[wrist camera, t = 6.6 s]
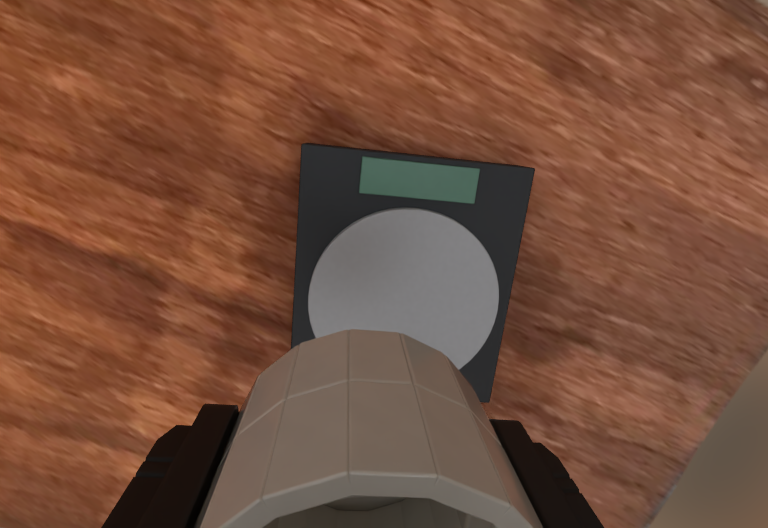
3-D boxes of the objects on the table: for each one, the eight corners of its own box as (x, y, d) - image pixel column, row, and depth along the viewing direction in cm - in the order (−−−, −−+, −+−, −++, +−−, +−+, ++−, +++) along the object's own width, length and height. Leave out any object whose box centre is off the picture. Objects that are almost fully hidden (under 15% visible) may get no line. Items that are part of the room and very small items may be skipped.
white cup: (245, 310, 10) (153, 464, 5) (493, 329, 11) (610, 482, 6) (239, 517, 12) (163, 779, 7) (455, 523, 12) (523, 766, 8)
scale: (306, 142, 24) (300, 143, 21) (517, 165, 25) (540, 169, 22) (293, 371, 28) (287, 399, 25) (477, 380, 29) (492, 408, 26)
